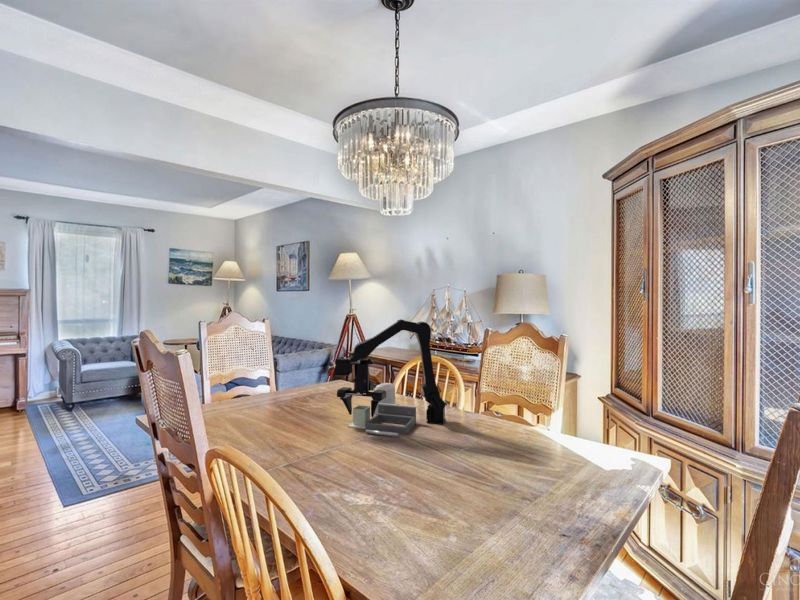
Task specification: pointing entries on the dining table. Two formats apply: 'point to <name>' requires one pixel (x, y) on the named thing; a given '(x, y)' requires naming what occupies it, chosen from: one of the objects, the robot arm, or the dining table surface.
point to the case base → (389, 428)
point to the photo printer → (389, 394)
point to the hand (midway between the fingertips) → (361, 415)
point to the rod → (382, 433)
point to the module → (361, 415)
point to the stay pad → (356, 426)
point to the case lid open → (397, 409)
